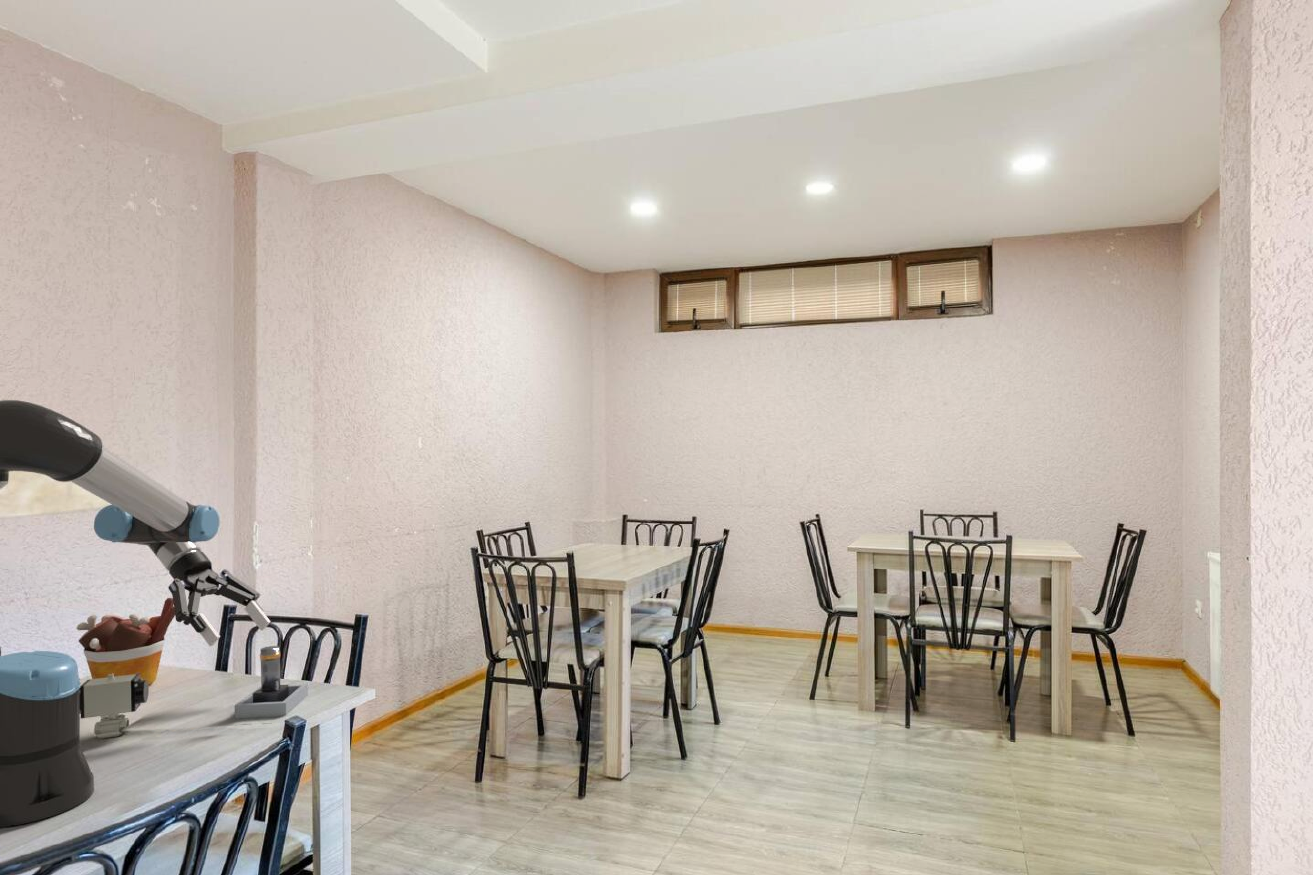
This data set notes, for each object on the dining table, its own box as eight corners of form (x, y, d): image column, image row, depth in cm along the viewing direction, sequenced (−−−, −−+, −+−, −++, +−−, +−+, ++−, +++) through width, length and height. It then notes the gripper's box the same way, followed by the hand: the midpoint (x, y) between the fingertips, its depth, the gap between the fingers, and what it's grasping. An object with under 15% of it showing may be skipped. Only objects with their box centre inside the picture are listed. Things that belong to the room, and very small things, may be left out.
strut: (277, 714, 158) (276, 651, 158) (253, 714, 158) (251, 651, 158) (288, 705, 163) (287, 644, 163) (265, 706, 163) (264, 645, 163)
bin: (286, 722, 155) (285, 702, 155) (235, 725, 154) (234, 705, 154) (308, 702, 167) (307, 684, 167) (260, 704, 166) (260, 686, 166)
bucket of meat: (71, 704, 169) (70, 614, 169) (81, 684, 183) (80, 601, 183) (178, 687, 179) (176, 603, 179) (179, 670, 194) (178, 591, 194)
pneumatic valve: (144, 734, 150) (142, 673, 150) (71, 744, 146) (70, 681, 146) (150, 724, 156) (149, 665, 156) (81, 734, 151) (79, 673, 151)
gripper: (222, 564, 180) (275, 631, 176) (122, 583, 156) (180, 661, 152) (240, 542, 179) (294, 609, 174) (142, 557, 155) (201, 635, 151)
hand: (241, 633), depth 163 cm, fingers open, 13 cm apart
